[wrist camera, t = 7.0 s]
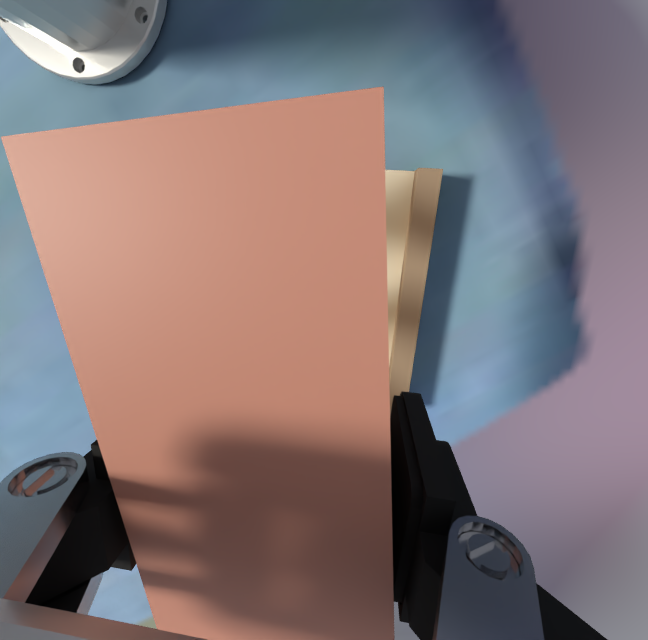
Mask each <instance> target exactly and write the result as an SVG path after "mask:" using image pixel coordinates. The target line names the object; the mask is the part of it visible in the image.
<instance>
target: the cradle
mask: <svg viewBox="0 0 648 640" xmlns="http://www.w3.org/2000/svg"><path fill="white" fill-rule="evenodd" d="M442 173H443V169H432V168H418V169H417V170H416V171H398V170H385V187H386V238H387V289H388V339H389V390H390V415H391V409H392V402H393V397H394V395H397V396H400V394H401V392H402V391H403V392H409V388H410V381H411V375H412V368H413V361H414V355H415V348H416V342H417V335H418V329H419V322H420V316H421V309H422V303H423V296H424V290H425V283H426V277H427V270H428V264H429V257H430V251H431V244H432V238H433V231H434V225H435V218H436V212H437V205H438V199H439V192H440V186H441V179H442Z"/></svg>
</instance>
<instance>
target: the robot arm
mask: <svg viewBox="0 0 648 640" xmlns="http://www.w3.org/2000/svg"><path fill="white" fill-rule="evenodd" d="M166 5H167V0H0V26H1V28H2V29H3V30H4V32H5V33H6V34H7V35H8V37H9V38H10V39H11V41H12V42H13V43H14V44H15V45H16V46H17V47H18V48H19V49H20V50H21V51H22V52H23V53H24V54H25V55H26V56H27V57H28V58H29V59H31V60H32V61H34V62H35V63H37V64H38V65H40V66H41V67H42V68H44V69H46V70H48V71H50V72H52V73H54V74H56V75H58V76H60V77H62V78H65V79H68V80H71V81H74V82H77V83H83V84H102V83H108V82H112V81H114V80H117V79H119V78H121V77H124V76H125V75H127V74H128V73H129V72H131V71H132V70H133V69H135V68H136V67H137V66H138V65H139V64H140V63H141V62H142V61H143V59H144V58H145V57H146V56H147V55H148V53H149V52H150V50H151V49H152V47H153V45H154V43H155V41H156V39H157V37H158V36H159V32H160V29H161V26H162V23H163V20H164V17H165V12H166ZM390 441H391V492H392V543H393V593H394V602H398V608H399V618H400V621H401V622H407V623H409V626H410V628H411V629H412V630H413V631H414V633H415V634H416V635H417V636H418V637H419V639H420V640H607V639H606V638H604V637H603V636H602V635H601V634H600V633H598V632H597V631H596V630H595V629H593V628H592V627H591V626H590V625H588V624H587V623H586V622H585V621H583V620H582V619H581V618H579V617H578V616H577V615H576V614H574V613H573V612H572V611H571V610H569V609H568V608H567V607H566V606H564V605H563V604H562V603H561V602H559V601H558V600H557V599H556V598H554V597H553V596H552V595H551V594H549V593H548V592H547V591H546V590H544V589H543V588H542V587H541V586H539V585H538V584H537V583H536V579H535V572H534V567H533V564H532V561H531V557H530V555H529V554H528V552H527V551H526V549H525V547H524V546H523V544H522V543H521V542H520V541H519V540H518V539H517V538H516V537H515V536H514V535H513V534H512V533H511V532H509V531H508V530H506V529H505V528H504V527H503V526H501V525H499V524H497V523H495V522H493V521H491V520H489V519H486V518H482V517H479V516H477V514H476V511H475V508H474V506H473V503H472V501H471V498H470V496H469V493H468V490H467V488H466V485H465V483H464V480H463V477H462V475H461V472H460V470H459V467H458V465H457V462H456V460H455V457H454V454H453V452H452V449H451V447H450V445H449V443H448V442H446V441H439V440H436V438H435V435H434V432H433V429H432V426H431V423H430V420H429V417H428V414H427V411H426V408H425V405H424V402H423V399H422V396H421V394H419V393H411V392H403V391H402V392H401V394H400V396H397V395H394V397H393V402H392V409H391V415H390ZM91 449H92V450H91V451H90V452H88V453H87V454H86V455H85V456H84V457H82V456H81V455H80V454H76V453H73V452H61V453H55V454H49V455H46V456H43V457H39V458H36V459H34V460H32V461H30V462H27V463H25V464H23V465H22V466H20V467H19V468H17V469H15V470H14V471H12V472H11V473H10V474H9V475H8V476H7V477H5V478H4V479H3V480H2V481H1V483H0V640H207V639H202V638H197V637H192V636H188V635H183V634H178V633H173V632H168V631H163V630H158V629H153V628H148V627H143V626H138V625H133V624H128V623H124V622H119V621H114V620H109V619H104V618H99V617H94V616H89V615H88V612H89V610H90V607H91V605H92V602H93V600H94V597H95V595H96V592H97V590H98V587H99V585H100V582H101V580H102V576H103V572H105V571H107V570H109V568H110V567H114V568H120V569H125V570H130V571H132V569H133V568H134V566H135V565H136V560H135V557H134V554H133V551H132V548H131V545H130V542H129V538H128V535H127V532H126V529H125V526H124V523H123V520H122V516H121V513H120V510H119V507H118V504H117V501H116V497H115V494H114V491H113V488H112V485H111V482H110V479H109V475H108V472H107V469H106V466H105V463H104V460H103V457H102V453H101V450H100V447H99V444H98V441H97V440H96V441H95V442H94V443H92V444H91Z"/></svg>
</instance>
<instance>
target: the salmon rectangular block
mask: <svg viewBox="0 0 648 640" xmlns="http://www.w3.org/2000/svg"><path fill="white" fill-rule="evenodd" d="M1 138H2V142H3V145H4V148H5V151H6V154H7V157H8V160H9V164H10V167H11V170H12V173H13V176H14V179H15V183H16V186H17V189H18V192H19V195H20V198H21V201H22V205H23V208H24V211H25V214H26V217H27V220H28V223H29V227H30V230H31V233H32V236H33V239H34V242H35V246H36V249H37V252H38V255H39V258H40V261H41V264H42V268H43V271H44V274H45V277H46V280H47V283H48V286H49V290H50V293H51V296H52V299H53V302H54V305H55V308H56V312H57V315H58V318H59V321H60V324H61V327H62V331H63V334H64V337H65V340H66V343H67V346H68V349H69V353H70V356H71V359H72V362H73V365H74V368H75V371H76V375H77V378H78V381H79V384H80V387H81V390H82V394H83V397H84V400H85V403H86V406H87V409H88V412H89V416H90V419H91V422H92V425H93V428H94V431H95V434H96V438H97V441H98V444H99V447H100V450H101V453H102V457H103V460H104V463H105V466H106V469H107V472H108V475H109V479H110V482H111V485H112V488H113V491H114V494H115V497H116V501H117V504H118V507H119V510H120V513H121V516H122V520H123V523H124V526H125V529H126V532H127V535H128V538H129V542H130V545H131V548H132V551H133V554H134V557H135V560H136V564H137V567H138V570H139V573H140V576H141V579H142V582H143V586H144V589H145V592H146V595H147V598H148V601H149V605H150V608H151V611H152V614H153V617H154V620H155V623H156V627H157V629H158V630H163V631H168V632H173V633H178V634H183V635H188V636H192V637H197V638H202V639H207V640H394V593H393V543H392V492H391V441H390V390H389V339H388V289H387V238H386V187H385V136H384V87H377V88H369V89H362V90H354V91H346V92H339V93H331V94H323V95H316V96H308V97H301V98H293V99H285V100H278V101H270V102H262V103H255V104H247V105H239V106H232V107H224V108H217V109H209V110H201V111H194V112H186V113H178V114H171V115H163V116H156V117H148V118H140V119H133V120H125V121H117V122H110V123H102V124H95V125H87V126H79V127H72V128H64V129H56V130H49V131H41V132H33V133H26V134H18V135H11V136H3V137H1Z"/></svg>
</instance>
